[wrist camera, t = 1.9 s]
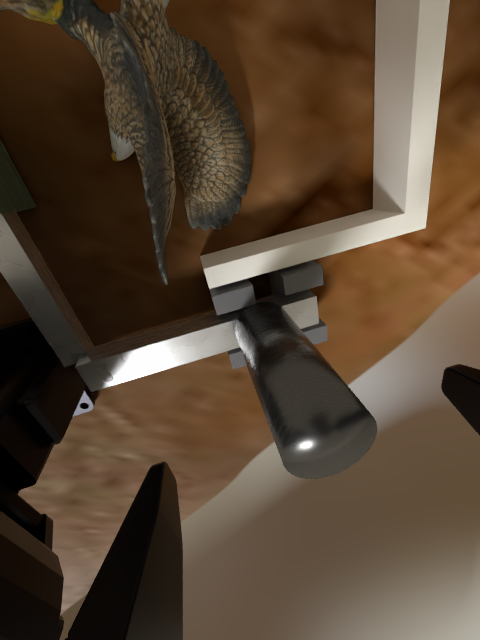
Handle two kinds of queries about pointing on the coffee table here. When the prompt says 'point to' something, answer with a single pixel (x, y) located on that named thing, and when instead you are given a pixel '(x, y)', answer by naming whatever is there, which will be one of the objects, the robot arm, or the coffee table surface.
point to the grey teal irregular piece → (202, 350)
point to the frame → (389, 150)
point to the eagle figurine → (161, 108)
